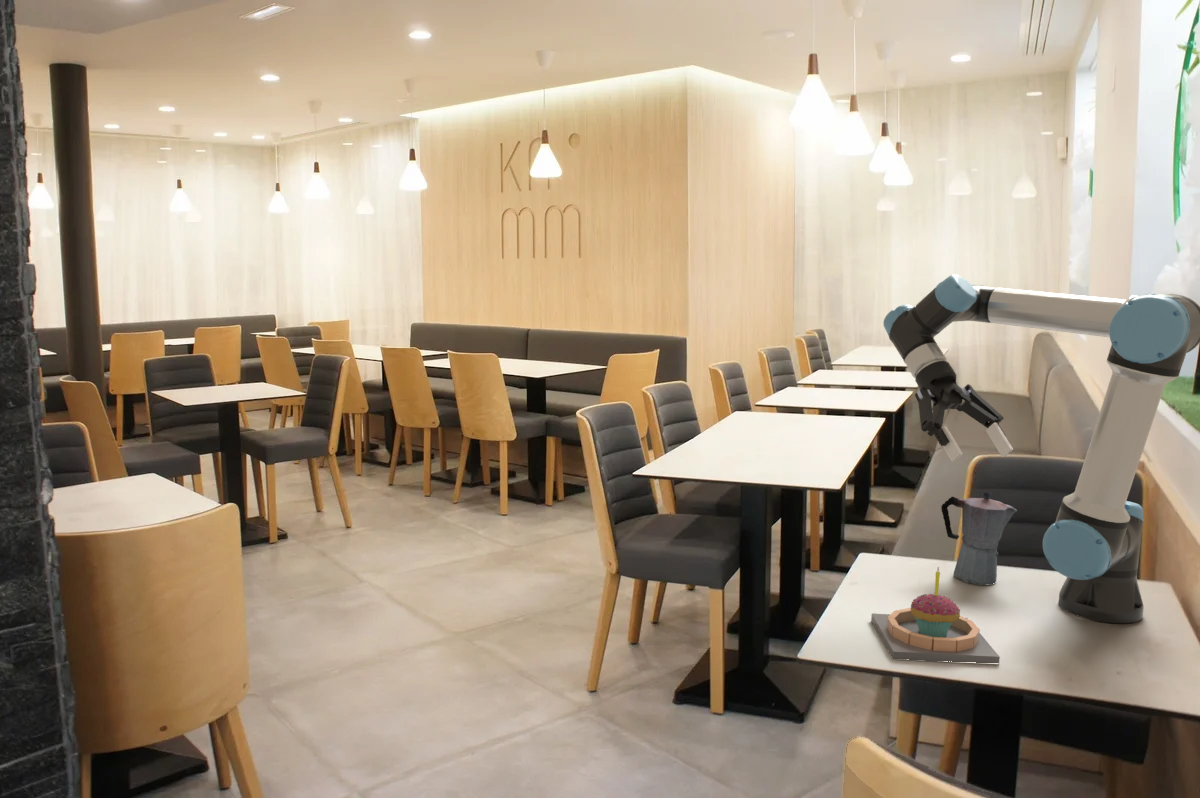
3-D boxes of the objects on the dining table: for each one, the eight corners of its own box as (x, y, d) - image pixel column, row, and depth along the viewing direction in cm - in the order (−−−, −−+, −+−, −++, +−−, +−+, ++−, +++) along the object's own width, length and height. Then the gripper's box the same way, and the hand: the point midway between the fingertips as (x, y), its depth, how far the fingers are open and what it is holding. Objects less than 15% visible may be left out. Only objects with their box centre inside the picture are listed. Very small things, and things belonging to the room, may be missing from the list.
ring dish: (966, 625, 181) (967, 608, 181) (998, 664, 164) (1000, 645, 163) (871, 620, 183) (872, 603, 182) (893, 659, 165) (894, 640, 164)
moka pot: (1015, 589, 202) (1023, 498, 199) (939, 583, 205) (946, 493, 202) (1005, 575, 211) (1013, 488, 209) (933, 569, 214) (940, 483, 212)
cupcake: (909, 621, 178) (913, 560, 177) (957, 628, 176) (962, 566, 174) (908, 638, 170) (913, 574, 169) (959, 645, 168) (964, 580, 166)
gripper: (964, 379, 204) (1015, 461, 193) (874, 383, 193) (924, 471, 182) (985, 357, 198) (1040, 440, 187) (895, 360, 187) (947, 449, 176)
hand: (983, 455), depth 184 cm, fingers open, 13 cm apart
